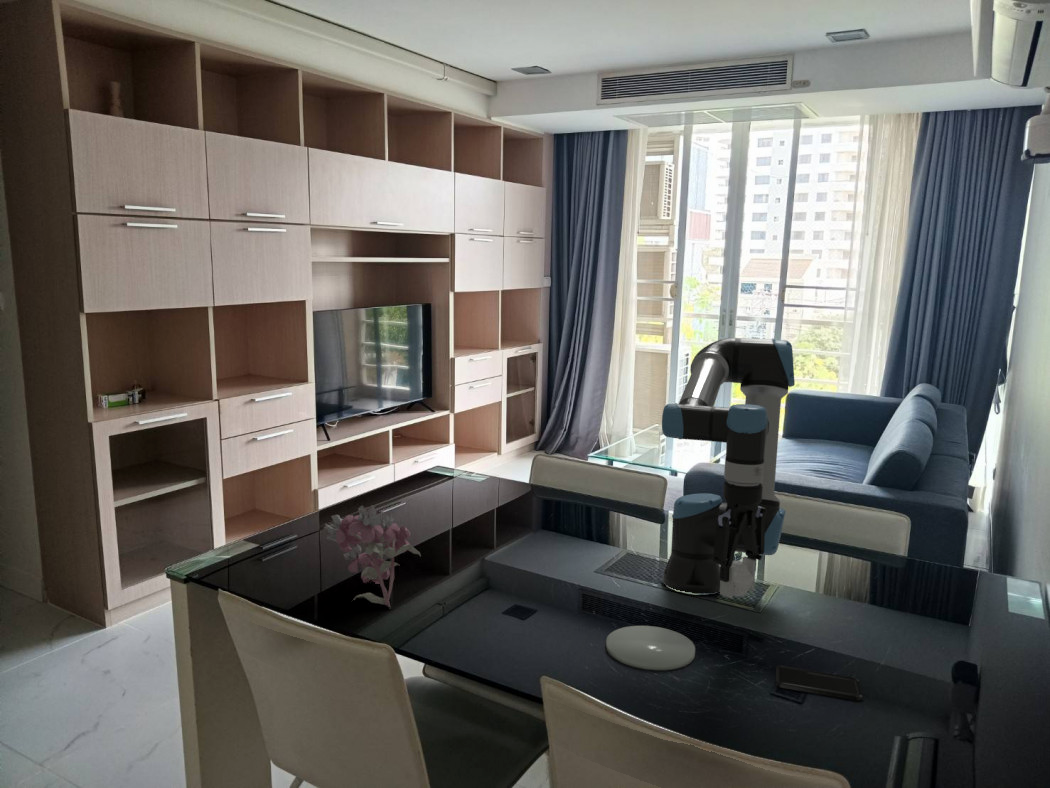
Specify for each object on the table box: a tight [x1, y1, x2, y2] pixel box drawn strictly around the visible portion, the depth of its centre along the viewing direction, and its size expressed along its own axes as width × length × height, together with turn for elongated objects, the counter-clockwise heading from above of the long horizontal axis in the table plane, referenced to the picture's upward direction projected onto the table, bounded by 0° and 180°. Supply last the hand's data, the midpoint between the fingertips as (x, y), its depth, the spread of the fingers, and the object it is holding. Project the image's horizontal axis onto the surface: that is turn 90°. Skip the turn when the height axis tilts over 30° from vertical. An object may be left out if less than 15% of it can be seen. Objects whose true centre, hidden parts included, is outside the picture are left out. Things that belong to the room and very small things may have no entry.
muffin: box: [732, 560, 754, 597], centre depth 155 cm, size 6×6×7 cm
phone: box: [775, 665, 863, 702], centre depth 144 cm, size 8×1×15 cm
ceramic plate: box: [605, 625, 696, 671], centre depth 156 cm, size 18×18×1 cm
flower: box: [323, 504, 422, 609], centre depth 181 cm, size 20×22×25 cm
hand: (736, 592), depth 156 cm, fingers closed on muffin, 6 cm apart
